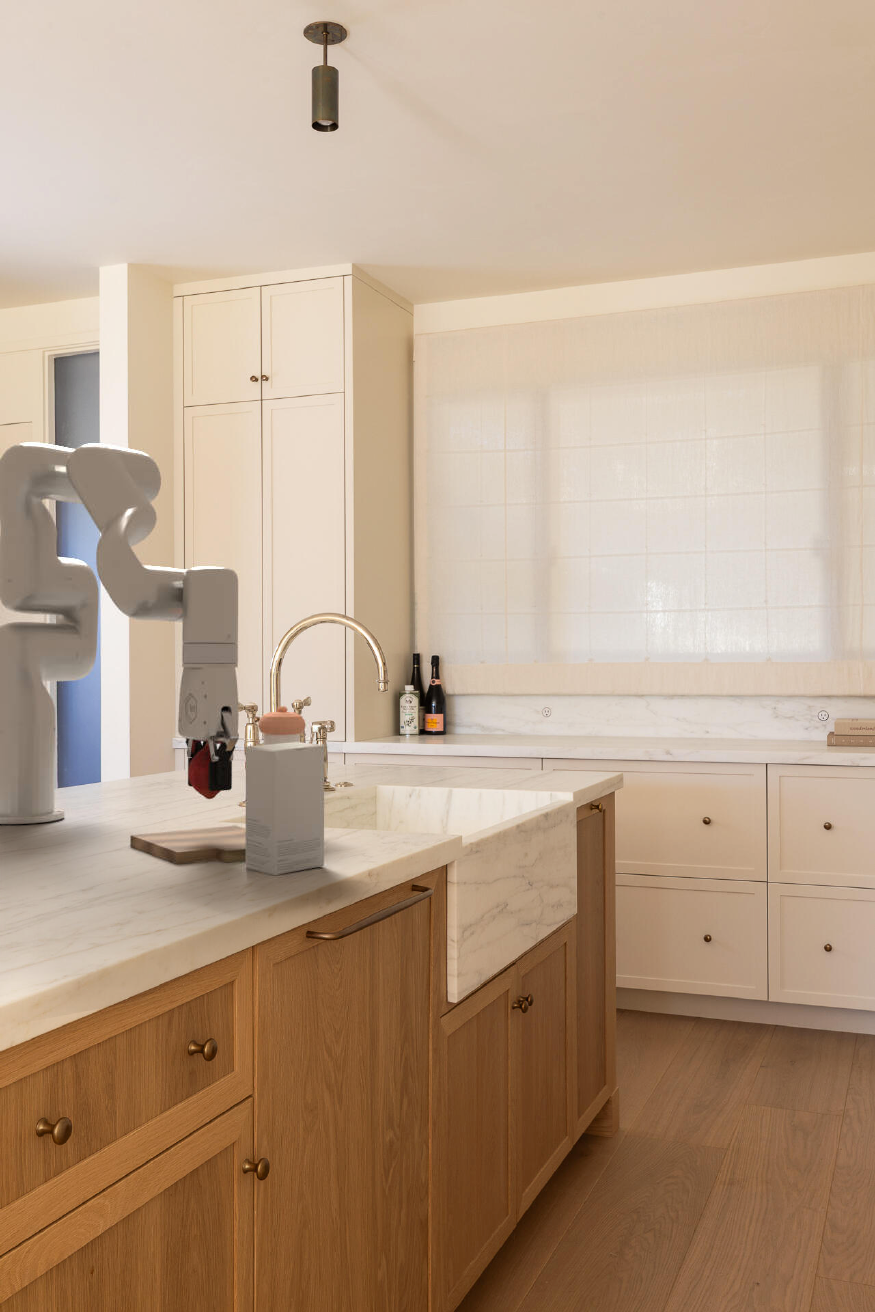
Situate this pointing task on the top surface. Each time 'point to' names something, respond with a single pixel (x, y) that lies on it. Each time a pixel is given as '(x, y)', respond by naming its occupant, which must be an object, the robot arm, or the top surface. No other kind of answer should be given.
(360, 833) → the top surface
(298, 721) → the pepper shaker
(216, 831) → the board
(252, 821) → the skincare box
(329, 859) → the top surface
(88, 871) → the top surface
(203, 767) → the onion
